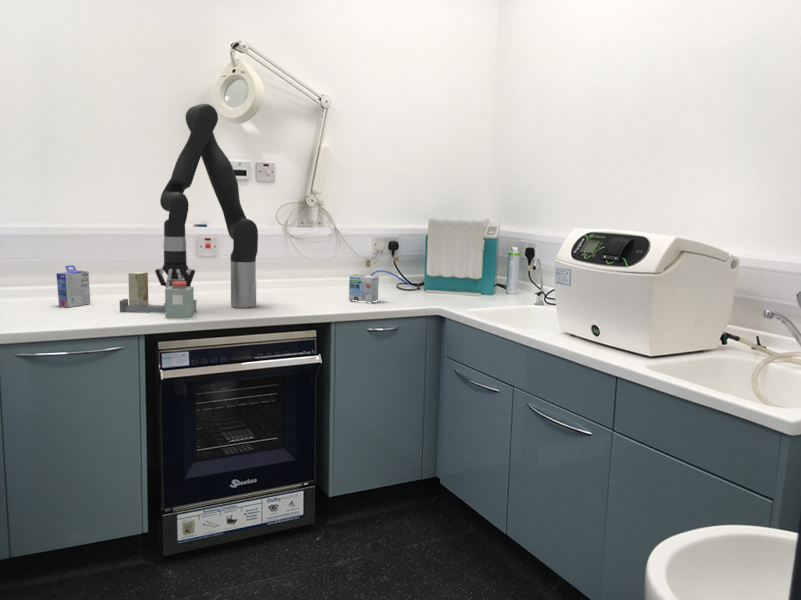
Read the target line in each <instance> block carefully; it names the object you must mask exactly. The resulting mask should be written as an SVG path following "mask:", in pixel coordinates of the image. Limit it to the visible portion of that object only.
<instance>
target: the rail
mask: <svg viewBox="0 0 801 600" xmlns="http://www.w3.org/2000/svg"><path fill="white" fill-rule="evenodd" d="M120 312H125V313H150V312H159V313H161V312H162V313H165V312H164V304H160V305H159V304H147V305H129V298H122V299H120V300H119V313H120ZM196 312H197V299H194V314H195V313H196ZM165 314H166V313H165Z"/></svg>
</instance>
